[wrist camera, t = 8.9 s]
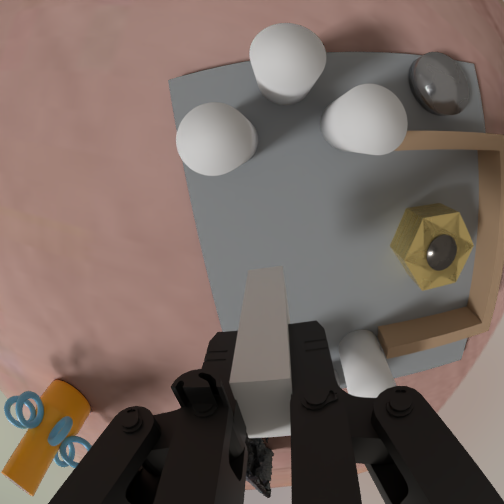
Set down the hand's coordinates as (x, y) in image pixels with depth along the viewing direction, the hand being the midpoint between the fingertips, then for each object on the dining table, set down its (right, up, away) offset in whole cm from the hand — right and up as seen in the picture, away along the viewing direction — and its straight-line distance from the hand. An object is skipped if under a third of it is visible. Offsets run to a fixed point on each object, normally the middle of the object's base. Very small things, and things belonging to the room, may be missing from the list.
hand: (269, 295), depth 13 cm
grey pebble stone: (+10, +12, 0) cm, 16 cm away
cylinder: (-23, -16, +14) cm, 31 cm away
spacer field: (+6, +2, +5) cm, 8 cm away
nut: (+10, +3, +3) cm, 11 cm away
